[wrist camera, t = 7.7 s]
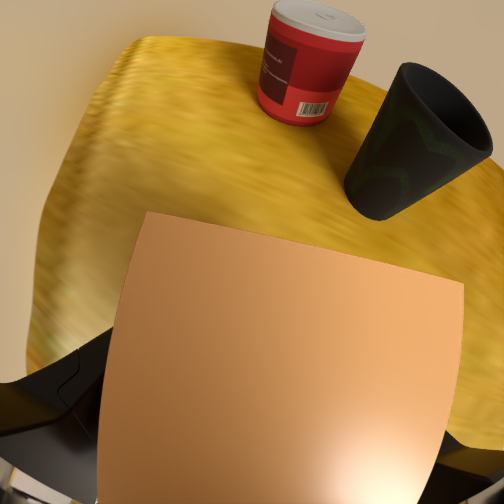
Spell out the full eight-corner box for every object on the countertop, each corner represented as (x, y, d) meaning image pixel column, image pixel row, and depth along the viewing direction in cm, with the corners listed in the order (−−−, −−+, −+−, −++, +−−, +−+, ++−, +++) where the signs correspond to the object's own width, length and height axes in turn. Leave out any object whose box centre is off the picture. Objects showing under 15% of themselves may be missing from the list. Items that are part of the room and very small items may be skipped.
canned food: (340, 104, 25) (377, 27, 15) (308, 142, 23) (350, 44, 13) (282, 73, 26) (301, -6, 16) (240, 104, 24) (252, 6, 13)
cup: (353, 144, 24) (411, 51, 12) (413, 192, 23) (491, 121, 11) (317, 193, 21) (387, 81, 10) (388, 250, 21) (495, 181, 9)
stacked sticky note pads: (284, 419, 14) (414, 553, 2) (171, 399, 14) (52, 531, 1) (305, 312, 16) (488, 240, 4) (193, 290, 16) (112, 141, 3)
